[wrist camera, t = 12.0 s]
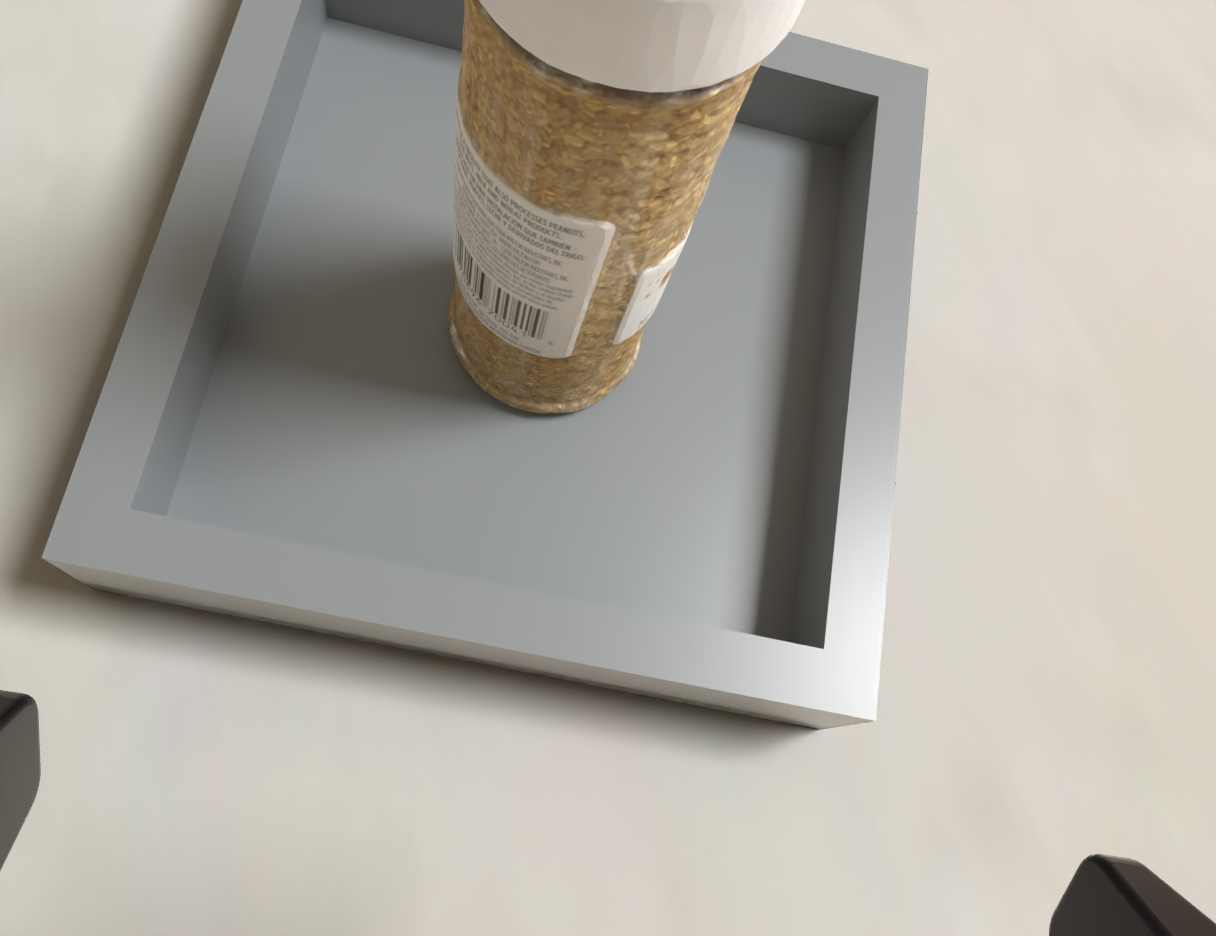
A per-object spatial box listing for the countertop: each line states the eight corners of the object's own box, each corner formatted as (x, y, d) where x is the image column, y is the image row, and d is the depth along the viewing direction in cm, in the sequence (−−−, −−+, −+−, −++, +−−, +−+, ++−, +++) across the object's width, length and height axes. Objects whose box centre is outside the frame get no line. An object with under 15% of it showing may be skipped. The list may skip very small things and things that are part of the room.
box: (92, 589, 21) (41, 558, 18) (296, -9, 26) (280, -105, 24) (820, 729, 23) (875, 720, 20) (878, 141, 28) (928, 69, 25)
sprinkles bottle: (671, 373, 24) (937, -85, 11) (498, 451, 23) (578, 34, 10) (583, 215, 25) (736, -374, 12) (410, 281, 24) (384, -298, 11)
